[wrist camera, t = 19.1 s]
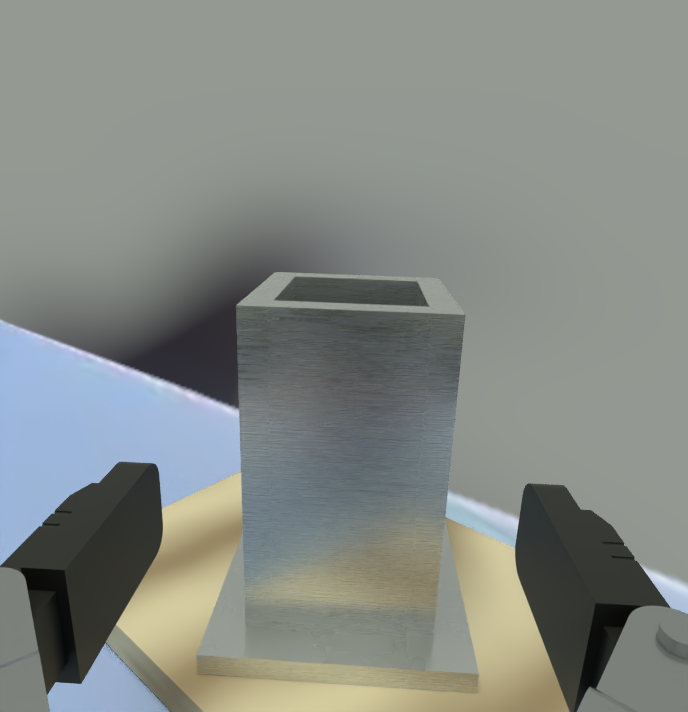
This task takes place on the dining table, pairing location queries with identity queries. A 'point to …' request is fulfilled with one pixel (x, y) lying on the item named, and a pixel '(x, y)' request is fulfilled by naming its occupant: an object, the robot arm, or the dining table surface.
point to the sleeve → (345, 488)
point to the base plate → (308, 699)
